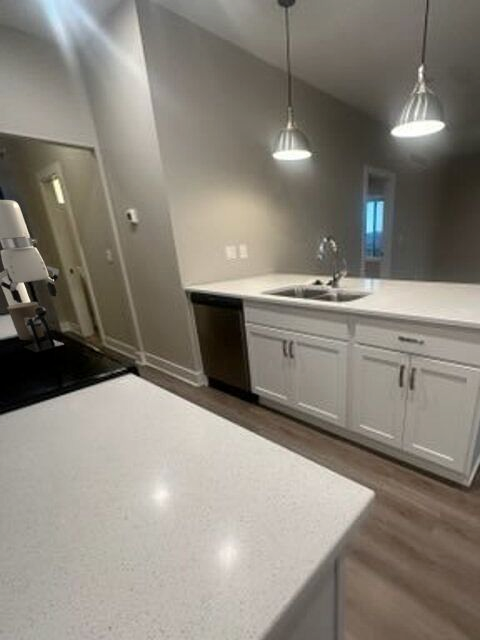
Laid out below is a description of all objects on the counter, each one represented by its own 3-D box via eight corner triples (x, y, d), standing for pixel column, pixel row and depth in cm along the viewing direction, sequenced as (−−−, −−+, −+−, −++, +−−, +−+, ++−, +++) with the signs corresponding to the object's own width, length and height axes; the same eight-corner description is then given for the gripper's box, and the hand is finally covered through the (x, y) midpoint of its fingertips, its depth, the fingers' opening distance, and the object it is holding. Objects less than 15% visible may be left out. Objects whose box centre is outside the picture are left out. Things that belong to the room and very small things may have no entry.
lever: (49, 313, 114) (44, 304, 114) (38, 315, 112) (33, 306, 112) (42, 326, 123) (38, 317, 123) (32, 328, 121) (27, 320, 121)
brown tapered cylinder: (52, 337, 137) (39, 300, 131) (22, 344, 130) (7, 305, 125) (47, 333, 143) (34, 297, 137) (18, 339, 137) (3, 302, 131)
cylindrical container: (41, 329, 149) (20, 270, 140) (40, 333, 144) (18, 272, 134) (21, 332, 146) (-2, 272, 136) (19, 336, 140) (-5, 274, 131)
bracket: (65, 347, 125) (55, 315, 120) (37, 355, 118) (24, 322, 113) (52, 341, 131) (42, 311, 127) (25, 349, 125) (13, 317, 120)
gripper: (44, 241, 114) (61, 293, 121) (-22, 247, 102) (1, 304, 108) (53, 241, 110) (70, 294, 117) (-15, 247, 97) (8, 306, 104)
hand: (37, 299), depth 112 cm, fingers open, 9 cm apart
